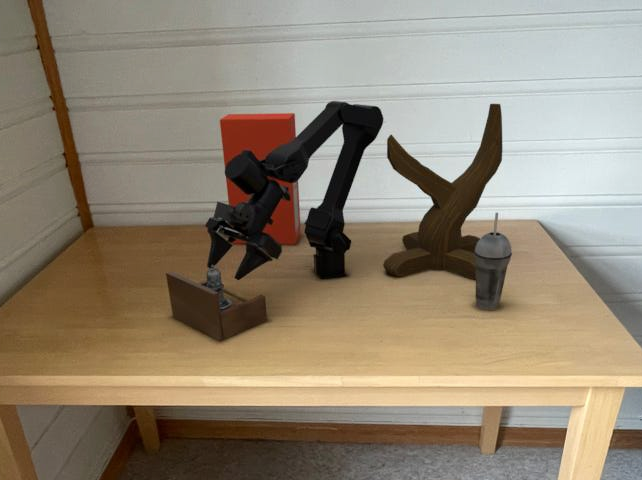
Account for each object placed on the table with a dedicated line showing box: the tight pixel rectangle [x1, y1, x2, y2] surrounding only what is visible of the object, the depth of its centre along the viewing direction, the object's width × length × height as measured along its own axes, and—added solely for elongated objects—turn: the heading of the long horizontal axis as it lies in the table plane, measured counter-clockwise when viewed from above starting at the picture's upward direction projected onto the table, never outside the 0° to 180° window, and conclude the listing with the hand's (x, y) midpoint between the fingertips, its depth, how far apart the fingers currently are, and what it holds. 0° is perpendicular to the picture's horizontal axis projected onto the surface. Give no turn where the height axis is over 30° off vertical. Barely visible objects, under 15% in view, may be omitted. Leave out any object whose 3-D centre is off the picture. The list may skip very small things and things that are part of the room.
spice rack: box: [165, 270, 268, 343], centre depth 130 cm, size 12×16×10 cm
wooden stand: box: [382, 103, 503, 280], centre depth 145 cm, size 29×29×35 cm
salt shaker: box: [205, 265, 232, 311], centre depth 129 cm, size 6×6×12 cm
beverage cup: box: [474, 211, 513, 311], centre depth 127 cm, size 7×7×20 cm
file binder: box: [219, 112, 302, 246], centre depth 166 cm, size 8×17×32 cm, turn 80°
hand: (222, 273), depth 129 cm, fingers open, 9 cm apart
